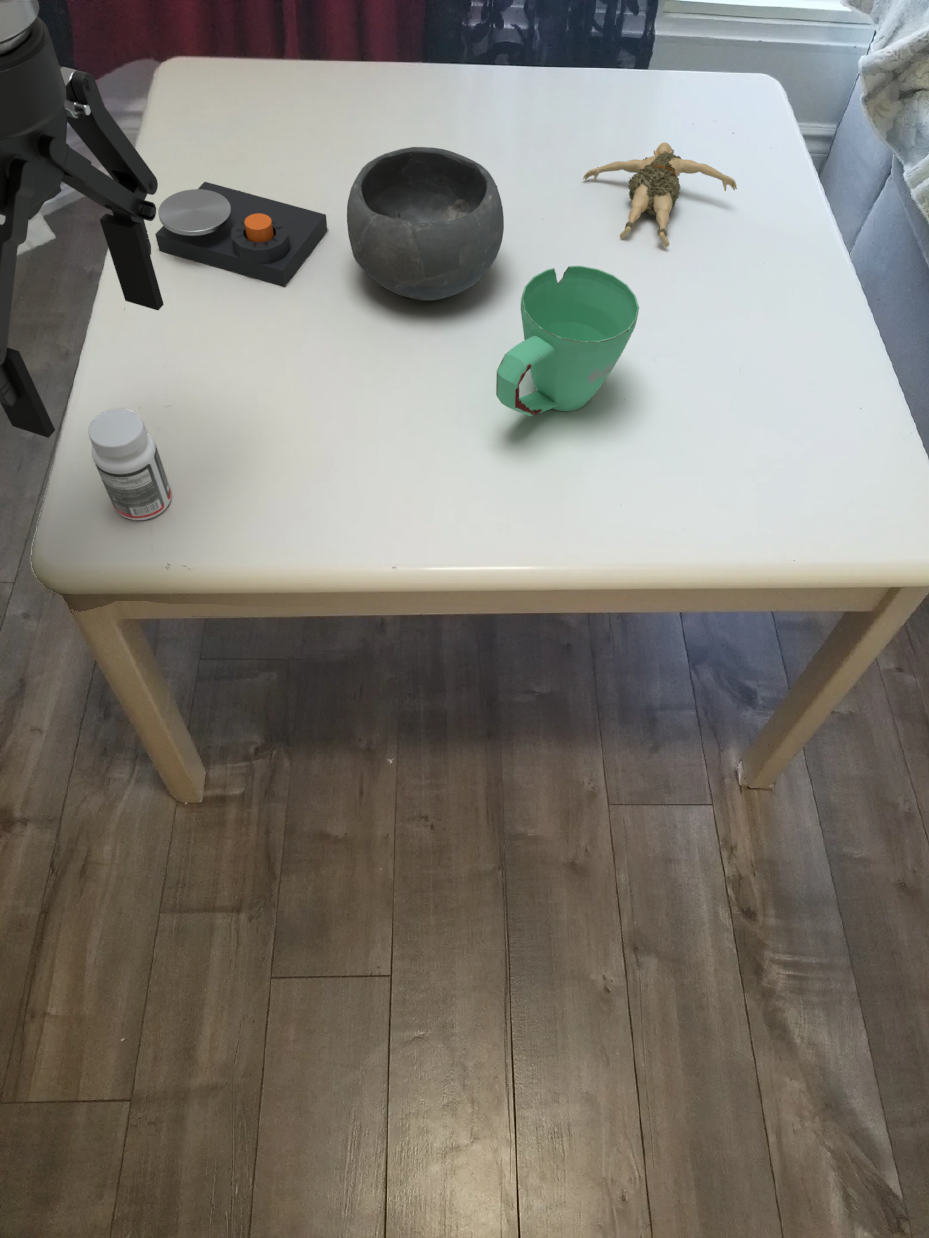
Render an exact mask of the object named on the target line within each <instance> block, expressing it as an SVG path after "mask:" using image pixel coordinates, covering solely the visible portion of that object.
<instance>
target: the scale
mask: <svg viewBox="0 0 929 1238" xmlns="http://www.w3.org/2000/svg"><path fill="white" fill-rule="evenodd" d="M197 189H203V190H210V191H213V192H216V193H219V194H221V195H222V196H224V197H225V198H226V199H227V200H228V201H229V203H230V206H231V211H232V214H231V218H230V220H229V221H228V223H227V224H226V225H225V226H224V227H222V228H221V229H219V230H217V231H215V232H212V233H209V234H205V235H197V236H188V235H181V234H177V233H174V232H172V231H170V230H168V229H167V228H165V227H164V226H163V225H162V226H161V227H160V228H159V229H158V230H157V231H156V233H155V235H154V236H155V239H156V243H157V246H158V250H159V251H160V252H162V253H166V254H170V255H173V256H176V257H180V258H184V259H187V260H191V261H194V262H198V263H201V264H205V265H208V266H212V267H216V268H218V269H221V270H225V271H229V272H232V273H236V274H240V275H241V276H242V275H243V276H246V277H249V278H253V279H256V280H260V281H264V282H267V283H270V284H274V285H278V286H280V287H286V286H287V285H288V283H289V282H290V281H291V279H292V278H293V277H294V275H295V274H296V273H297V272H298V270H299V269H300V268H301V267H302V265H303V264H304V262H305V261H306V260H307V258H308V257H309V256H310V254H311V253H312V252H313V250H314V249H315V248H316V247H317V245H318V244H319V243H320V241H321V240H322V239H323V237H324V236H325V235H326V233H327V232H328V221H327V214H325V213H322V212H319V211H316V210H315V211H314V210H312V209H307V208H304V207H300V206H296V205H293V204H289V203H285V202H281V201H278V200H274V199H270V198H267V197H263V196H260V195H255V194H252V193H249V192H244V191H241V190H237V189H234V188H230V187H226V186H223V185H218V184H215V183H212V182H209V181H203V183H202V184H200V186H199V187H198V188H197ZM252 214H265V215H267V216H269V217H270V218H271V220H272V227H273V234H274V235H273V238H272V239H271V240H269V241H266V242H252V241H249V240H248V238H247V235H246V229H245V223H244V221H245V219H246V218H247V217H248V216H250V215H252Z"/></svg>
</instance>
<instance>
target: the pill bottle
mask: <svg viewBox="0 0 929 1238" xmlns="http://www.w3.org/2000/svg"><path fill="white" fill-rule="evenodd" d="M87 427H88V428H87V429H88V430H87V434H88V437H89V440H90V444H91V456H92V459H93V462H94V464H95V467H96V469H97V471H98V474H99V476H100V478H101V479H100V480H101V482H102V483H103V486H104V488H105V490H106V493H107V495H108V498H109V500H110V502H111V505H112V507H113V509H114V511H116V513H118V514H119V515H120V516H121V517H124V518H126V519H128V520H132V521H145V520H149V519H152V518H155V517H157V516H158V515H160V514H161V513H163V512H164V511H165V510H166V509H167V508H168V506H169V504H170V503H171V500H172V490H171V485H170V483H169V479H168V477H167V474H166V471H165V468H164V464H163V462H162V459H161V456H160V453H159V450H158V447H157V444H156V441H155V439H154V437H153V436H152V435H151V434H150V433H149V432H148V431H147V427H146V426H145V423H144V421H143V419H142V417H141V415H139V414H138V413H137V412H135V411H134V410H131V409H127V408H113V409H108V410H104V411H102V412H100V413H98V414H97V415H96V416H95V417H94V418H93V419H92V420H91V421H90V423H89V425H88V426H87Z"/></svg>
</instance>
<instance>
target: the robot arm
mask: <svg viewBox="0 0 929 1238" xmlns="http://www.w3.org/2000/svg"><path fill="white" fill-rule="evenodd" d="M39 12H40V5H39V0H0V216H4V222H3V223H2V224H1V223H0V405H1V407H2V409H3V411H4V413H5V415H6V417H7V418H8V421H9V423H10V424H11V426H12V427H14V428H16V429H20V430H22V431H26V432H30V433H32V434H35V435H39V436H41V437H45V438H47V439H49V438H50V437H51V436H52V435H53V434H54V432H55V431H56V428H55V426H54V424H53V422H52V420H51V417H50V416H49V413H48V411H47V409H46V407H45V403H43V400H42V398H41V396H40V394H39V391H38V390H37V387H36V385H35V382H34V381H33V378H32V377H31V374H30V372H29V370H28V368H27V366H26V365H27V364H26V363H25V361H24V359H23V356H22V354H21V353H20V351H19V350H17V349H13V348H10V347H8V345H9V344H8V341H9V334H10V333H9V332H10V323H11V316H12V315H11V314H12V305H13V295H14V285H15V275H16V266H17V259H18V258H17V257H18V249H19V246H21V245H22V244H24V243H25V242H26V241H27V237H28V229H29V221H31V220H32V219H33V218H34V217H35V216H36V215H37V214H38V213H39V212H40V210H41V209H42V207H43V206H44V205H45V203H46V202H48V201H50V200H52V199H55V198H56V197H57V196H58V195H59V194H60V193H61V192H62V190H63V189H62V188H61V184H62V183H63V184H65V185H66V186H68V187H70V188H72V189H73V190H75V191H76V192H79V194H82V195H83V196H85V197H86V198H88V199H89V200H91V201H92V202H95V203H96V204H98V205H99V206H101V207H103V208H105V209H106V210H109V211H111V213H112V214H109V213H104V214H103V215H102V216H101V217H100V219H99V222H100V226H101V229H102V231H103V232H102V233H103V236H104V238H105V241H106V245H107V247H108V250H109V253H110V257H111V261H112V264H113V267H114V269H115V273H116V276H117V280H118V283H119V285H120V288H121V291H122V295H123V298H124V301H125V302H127V303H131V304H135V305H138V306H141V307H145V308H147V309H152V310H155V311H160V310H161V308H162V307H163V306H164V300H163V297H162V293H161V289H160V286H159V282H158V278H157V274H156V272H155V267H154V264H153V261H152V257H151V255H152V244H151V242H150V239H149V234H148V230H147V225H146V222H145V221H148V222H152V221H154V220H155V218H156V216H157V206H156V203H154V202H153V201H149V200H146V198H147V197H148V195H150V196H153V195H156V193H157V191H158V187H159V184H158V183H159V182H158V178H157V177H156V175H155V173H154V172H153V171H152V170H151V168H150V167H149V166H148V164H147V163H146V161H145V160H144V159H143V158H142V156H141V155H140V153H139V152H138V150H137V149H136V148H135V146H134V145H133V143H132V142H131V141H130V139H129V138H128V137H127V136H126V134H125V132H124V131H123V130H122V128H121V127H120V126H119V124H118V123H117V122H116V120H115V119H114V117H113V116H112V115H111V113H110V112H109V110H108V109H107V107H106V106H105V104H104V100H103V99H102V96H101V93H100V90H99V87H98V84H97V82H96V79H95V77H94V75H93V74H92V73H89V72H85V71H81V70H78V69H74V68H71V67H70V68H69V67H65V66H61V65H60V63H59V61H58V58H57V54H56V51H55V49H54V44H53V41H52V38H51V35H50V31H49V28H48V26H47V24H46V22H44V20H42V19H41V18H40V17H39V16H38V15H39ZM68 125H69V126H70V127H71V129H72V130H73V131H74V132H75V134H76V135H77V136H78V137H79V138H80V140H81V141H82V142H83V143H84V145H85V146H86V147H87V149H88V150H89V151H90V152H91V153H92V155H93V156H94V157H95V159H96V160H97V161H98V162H99V163H100V165H101V166H102V167H103V168H104V170H105V171H106V172H107V174H106V173H104V171H101V170H100V169H99V168H97V167H96V166H94V165H93V164H92V161H91V160H90V159H88V158H87V157H85V156H84V155H82V154H81V153H79V152H77V151H76V150H75V149H73V148H72V147H71V146H70V144H69V143H67V133H68Z"/></svg>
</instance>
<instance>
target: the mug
mask: <svg viewBox="0 0 929 1238" xmlns="http://www.w3.org/2000/svg"><path fill="white" fill-rule="evenodd" d="M639 311H640V306H639V303H638V299H637V296H636V294H635V293H634V292H633V291H632V289H631V288H630V287H629V286H628V284H627V283H625V282H624V281H622V280H621V279H620V278H618V277H616V275H614V274H611V273H609V272H606V271H605V270H602V269H600V268H594V267H590V266H589V267H588V266H584V265H569V266H568V267H567V268H566V269H565V270H564V272H563V275H562V277H561V279H560V280H558V279H557V273H556V270H555V267H553V268H548V269H546V270H543V271H541V272H540V273H538V274H536V275H534V276H533V277H532V278H531V279H530V280H529V281H528V282H527V283H526V285H524V288H523V291H522V294H521V298H520V315H521V322H522V332H523V338H524V340H523V341H521V342H520V343H518V344H516V345H514V346H513V348H511V349H510V350H509V351H507V352H506V353H505V354H504V355H503V357H502V359H501V361H500V363H499V365H498V367H497V368H496V369H497V370H496V387H495V395H496V398H497V399H498V400H499V402H500V403H501V404H502V405H504V407H507V408H508V409H511V410H513V411H515V412H518V413H520V414H523V415H526V416H528V417H533V416H536V415H538V414H540V413H544V412H547V411H549V410H551V409H553V410H555V411H560V412H574V411H577V410H580V409H581V408H583V407H584V406H586V404H588V403H589V401H590V400H591V399H592V398H593V396H594V395H595V394H596V393H597V392H598V390H599V389H600V388H601V386H602V385H603V384H604V382H605V381H606V379H608V378H607V377H608V376H609V375H610V374H611V372H612V370H613V369H614V368H615V366H616V364H617V362H618V361H619V359H620V358H621V356H622V354H623V353H624V350H625V349H626V347H627V344H628V343H629V340H630V338H631V337H632V334H633V332H634V331H635V328H636V325H637V321H638V316H639ZM529 371H530V375H531V379H532V382H533V384H534V388H535V390H536V391H534V392H532V393H529V394H526V395H524V396H521V397H520V385H521V383H522V381H523V379H524V377H525V376H526V374H527V373H528V372H529Z"/></svg>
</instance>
